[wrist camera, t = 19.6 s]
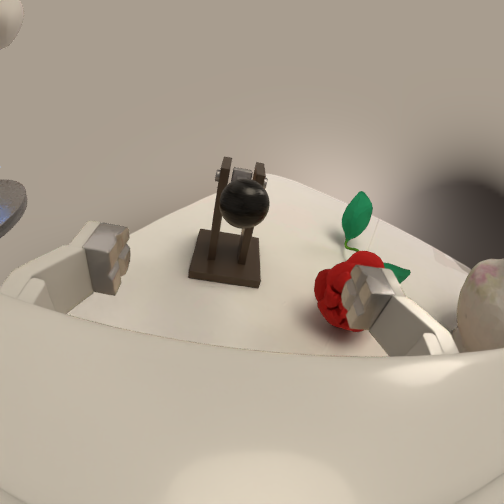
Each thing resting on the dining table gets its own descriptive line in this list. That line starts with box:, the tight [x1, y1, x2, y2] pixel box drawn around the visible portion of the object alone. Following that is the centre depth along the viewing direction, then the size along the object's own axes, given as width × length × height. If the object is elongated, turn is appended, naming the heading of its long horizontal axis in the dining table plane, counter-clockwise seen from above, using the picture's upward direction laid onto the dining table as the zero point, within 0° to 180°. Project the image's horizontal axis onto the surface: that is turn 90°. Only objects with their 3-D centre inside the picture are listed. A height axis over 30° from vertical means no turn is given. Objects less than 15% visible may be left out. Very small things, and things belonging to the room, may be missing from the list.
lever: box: [219, 167, 269, 229], centre depth 27 cm, size 17×4×4 cm, turn 0°
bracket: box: [189, 157, 267, 288], centre depth 37 cm, size 10×9×14 cm
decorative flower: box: [314, 191, 411, 332], centre depth 40 cm, size 14×30×10 cm, turn 155°
